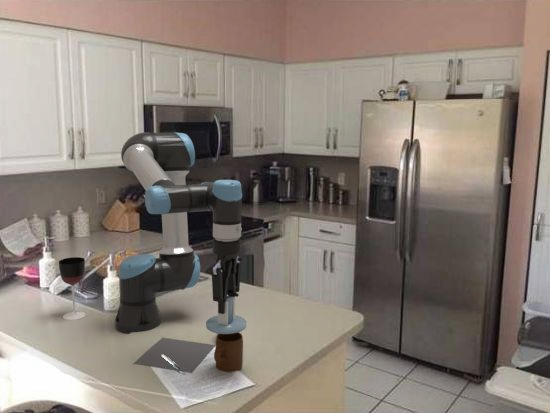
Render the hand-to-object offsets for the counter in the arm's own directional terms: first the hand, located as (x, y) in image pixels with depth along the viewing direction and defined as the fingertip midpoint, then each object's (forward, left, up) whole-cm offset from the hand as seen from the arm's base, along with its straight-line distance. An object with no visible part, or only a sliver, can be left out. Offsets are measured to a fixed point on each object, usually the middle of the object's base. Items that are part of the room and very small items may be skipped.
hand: (226, 321), depth 137 cm
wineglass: (-64, +21, -15) cm, 69 cm away
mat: (-17, +4, -15) cm, 23 cm away
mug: (0, 0, -15) cm, 15 cm away
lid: (0, 0, -1) cm, 1 cm away
